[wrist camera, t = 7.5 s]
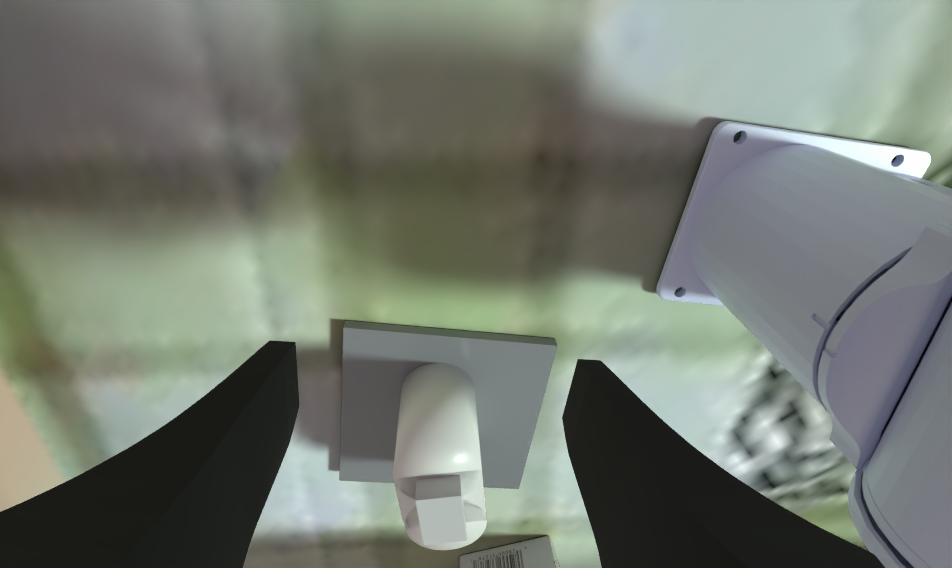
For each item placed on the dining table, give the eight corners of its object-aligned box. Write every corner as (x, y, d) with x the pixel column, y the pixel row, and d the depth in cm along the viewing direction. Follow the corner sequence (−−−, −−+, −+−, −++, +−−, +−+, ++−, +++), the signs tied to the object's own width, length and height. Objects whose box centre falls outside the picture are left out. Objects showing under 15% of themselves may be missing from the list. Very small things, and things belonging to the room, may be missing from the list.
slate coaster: (554, 338, 24) (557, 345, 24) (517, 480, 29) (518, 488, 28) (345, 320, 23) (343, 327, 23) (341, 471, 28) (339, 480, 27)
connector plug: (471, 359, 24) (480, 457, 19) (481, 459, 27) (491, 567, 22) (396, 366, 24) (384, 467, 19) (414, 466, 27) (408, 576, 22)
